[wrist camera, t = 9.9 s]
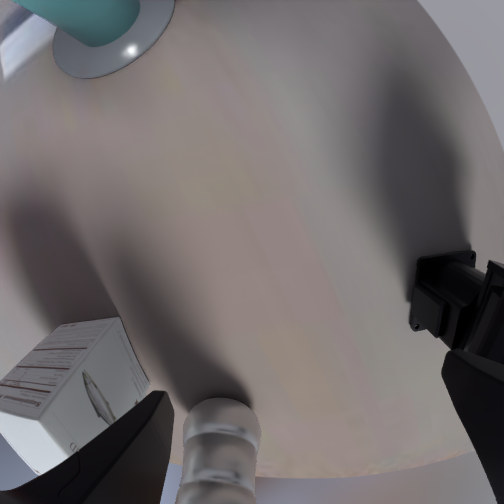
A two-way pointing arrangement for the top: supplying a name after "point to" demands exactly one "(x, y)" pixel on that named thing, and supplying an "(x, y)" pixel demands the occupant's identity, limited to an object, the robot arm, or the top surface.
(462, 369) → the robot arm
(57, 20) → the cylinder
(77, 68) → the coaster
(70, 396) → the supplement box
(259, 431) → the plastic bottle
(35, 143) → the top surface
